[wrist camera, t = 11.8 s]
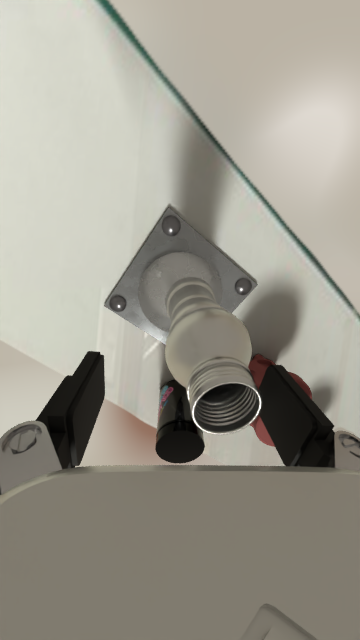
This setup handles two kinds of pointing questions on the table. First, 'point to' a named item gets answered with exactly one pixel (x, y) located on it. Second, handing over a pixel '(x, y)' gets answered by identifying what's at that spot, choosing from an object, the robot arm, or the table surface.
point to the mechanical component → (258, 371)
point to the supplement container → (177, 426)
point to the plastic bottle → (210, 358)
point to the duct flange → (174, 276)
